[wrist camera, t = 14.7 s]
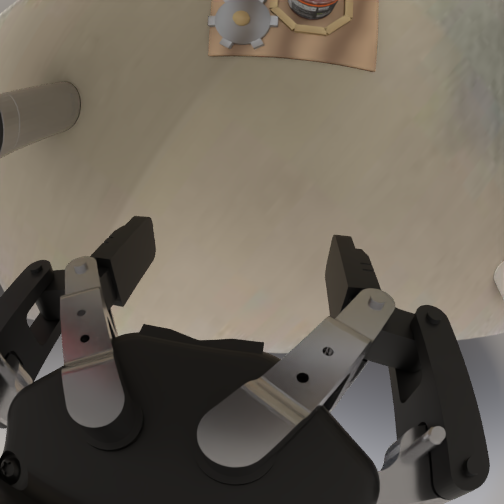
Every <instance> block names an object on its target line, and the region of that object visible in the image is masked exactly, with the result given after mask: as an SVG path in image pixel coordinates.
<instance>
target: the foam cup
mask: <svg viewBox="0 0 504 504" xmlns="http://www.w3.org/2000/svg"><path fill="white" fill-rule="evenodd" d="M494 281H495V284H496V286H497V288H498V290H499V292H500V294H501V296H502V298H503V300H504V261H503V262H502V263H501V264H500V265H499V266H498V267H497V269H496V271H495V273H494Z"/></svg>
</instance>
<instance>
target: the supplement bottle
mask: <svg viewBox="0 0 504 504" xmlns="http://www.w3.org/2000/svg"><path fill="white" fill-rule="evenodd" d="M337 2H338V0H288V4H289V6H290V8H291V10H292V11H293V12H294V13H295V14H297V15H298V16H300V17H302V18H305V19H309V20H318V19H322V18H324V17H326V16H328V15H329V14H330V13H331V12H332V10H333V9H334V7H335V5H336V3H337Z"/></svg>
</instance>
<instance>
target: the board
mask: <svg viewBox="0 0 504 504" xmlns="http://www.w3.org/2000/svg"><path fill="white" fill-rule="evenodd" d="M208 26H210V32H209V52H208V56H258V57H276V58H289V59H299V60H308V61H316V62H323V63H330V64H336V65H342V66H347V67H353V68H358V69H363V70H367V71H372V72H375V68H376V55H377V37H378V0H338V2H337V3H336V5H335V7H334V9H333V10H332V12H331V13H330V14H329V15H328V16H326V17H324V18H322V19H318V20H309V19H305V18H302V17H300V16H298V15H297V14H295V13H294V12H293V11H292V10H291V8H290V6H289V4H288V0H212V2H211V16H208Z"/></svg>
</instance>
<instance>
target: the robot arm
mask: <svg viewBox="0 0 504 504" xmlns="http://www.w3.org/2000/svg"><path fill="white" fill-rule="evenodd" d="M79 111H80V97H79V94H78V92H77V90H76V88H75V87H74V86H73V85H72V84H71V83H68V82H57V83H51V84H44V85H39V86H33V87H28V88H24V89H19V90H15V91H10V92H6V93H2V94H0V158H2V157H4V156H6V155H8V154H10V153H12V152H14V151H16V150H18V149H21V148H23V147H25V146H28V145H30V144H32V143H35V142H37V141H40V140H42V139H45V138H47V137H50V136H53V135H55V134H58V133H61V132H63V131H66V130H68V129H70V128H71V127H72V126H73V125H74V123H75V122H76V120H77V118H78V115H79ZM155 252H156V247H155V240H154V232H153V224H152V220H151V218H150V217H141V216H134V217H133V218H132V219H131V220H130V221H129V222H128V223H127V224H126V225H125V226H122V227H120V228H119V229H117V230H115V231H114V232H113V233H112V234H111V235H110V236H109V238H107V239H106V240H105V241H104V243H102V244H101V245H100V246H99V248H98V249H97V250H96V251H95V252H94V253H93V254H92V255H91V256H90V257H89V256H84V257H79V258H76V259H74V260H72V261H71V262H70V263H68V265H67V266H66V268H65V270H56V271H53V270H52V267H51V264H50V262H49V261H47V260H40V261H36V262H34V263H32V264H30V265H29V266H28V267H27V268H26V269H25V270H24V271H23V272H22V273H21V274H20V275H19V276H18V278H17V279H16V280H15V281H14V282H13V283H12V284H11V286H10V287H9V288H8V289H7V290H6V291H5V293H4V294H3V295H2V296H1V297H0V428H7V434H6V442H5V447H4V451H3V454H2V456H1V458H0V504H444V503H446V502H449V501H451V500H453V499H456V498H458V497H460V496H462V495H464V494H467V493H469V492H471V491H473V490H475V489H476V488H478V487H480V486H481V485H482V484H483V483H484V481H485V480H486V478H487V476H488V473H489V467H490V465H489V457H488V451H487V445H486V440H485V435H484V430H483V426H482V421H481V417H480V413H479V409H478V405H477V401H476V398H475V394H474V391H473V387H472V384H471V381H470V377H469V374H468V371H467V368H466V365H465V362H464V359H463V357H462V354H461V351H460V348H459V345H458V343H457V340H456V337H455V335H454V332H453V330H452V327H451V325H450V322H449V320H448V318H447V316H446V315H445V314H444V313H443V312H442V311H441V310H440V309H438V308H436V307H434V306H430V305H423V306H420V307H419V308H418V309H417V311H416V313H415V314H413V313H410V312H406V311H403V310H400V309H398V308H396V307H395V302H394V300H393V298H392V297H391V296H390V295H389V294H387V293H386V292H384V291H382V290H381V289H380V286H379V283H378V280H377V277H376V275H375V272H374V269H373V267H372V265H371V261H370V259H369V256H368V255H367V254H366V253H365V252H364V251H363V250H362V249H355V246H354V243H353V241H352V238H351V237H350V236H341V235H333V238H332V242H331V247H330V251H329V256H328V260H327V265H326V272H325V280H326V287H327V295H328V302H329V310H330V316H328V317H327V318H326V319H324V320H323V321H322V322H321V323H320V324H319V325H318V326H317V327H316V328H315V329H314V330H313V331H312V332H311V333H310V334H309V335H308V336H307V337H305V338H304V339H303V340H302V341H301V342H300V343H299V344H298V345H297V346H296V347H295V348H293V349H292V350H291V351H290V352H289V353H288V354H287V355H286V356H284V357H283V358H282V359H279V358H277V357H275V356H273V355H271V354H269V353H266V352H263V346H264V342H255V341H246V340H238V339H221V340H196V339H194V338H191V337H189V336H186V335H184V334H181V333H179V332H176V331H174V330H171V329H167V328H161V327H156V326H151V325H146V324H143V326H142V328H141V330H140V332H138V333H129V334H124V335H121V336H118V333H117V329H116V326H115V322H114V318H113V314H112V311H111V307H112V305H117V306H122V307H123V306H124V305H125V303H126V302H127V300H128V298H129V297H130V295H131V294H132V292H133V290H134V289H135V287H136V286H137V284H138V283H139V281H140V280H141V278H142V277H143V275H144V274H145V272H146V270H147V269H148V267H149V266H150V264H151V263H152V261H153V260H154V257H155ZM35 302H36V304H37V306H38V309H39V311H40V314H39V315H38V316H37V318H36V319H35V321H34V322H33V324H32V325H31V327H30V328H29V326H28V324H27V320H26V318H27V314H28V312H29V310H30V309H31V307H32V306H33V305H34V303H35ZM60 334H62V347H63V357H64V366H62V367H60V368H59V369H57V370H55V371H53V372H51V373H49V374H48V375H46V376H44V377H42V378H40V379H39V380H37V381H35V382H34V380H35V378H36V376H37V374H38V373H39V371H40V369H41V367H42V365H43V364H44V362H45V360H46V358H47V356H48V355H49V353H50V351H51V349H52V348H53V346H54V344H55V342H56V341H57V339H58V338H59V336H60ZM368 361H372V362H376V363H379V364H382V365H386V366H388V367H389V373H390V380H391V387H392V395H393V403H394V412H395V421H396V433H397V441H396V442H395V443H393V444H392V445H391V446H390V447H389V448H388V450H387V451H386V454H385V458H384V464H383V467H382V469H381V471H377V469H376V467H375V465H374V463H373V461H372V460H371V459H370V458H369V456H368V455H367V454H366V453H365V452H364V451H363V450H362V449H361V448H360V446H359V445H358V444H357V443H356V442H355V441H354V440H353V439H352V438H351V436H350V435H349V434H348V433H347V432H346V431H345V430H344V428H343V427H342V426H341V425H340V424H339V423H338V422H337V420H336V419H335V418H334V417H333V416H332V415H331V411H332V410H333V409H334V408H335V406H336V405H337V404H338V402H339V401H340V399H341V398H342V396H343V395H344V394H345V392H346V391H347V390H348V388H349V387H350V386H351V384H352V383H353V382H354V381H355V379H356V378H357V377H358V375H359V374H360V373H361V371H362V370H363V368H364V367H365V366H366V364H367V363H368Z"/></svg>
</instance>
